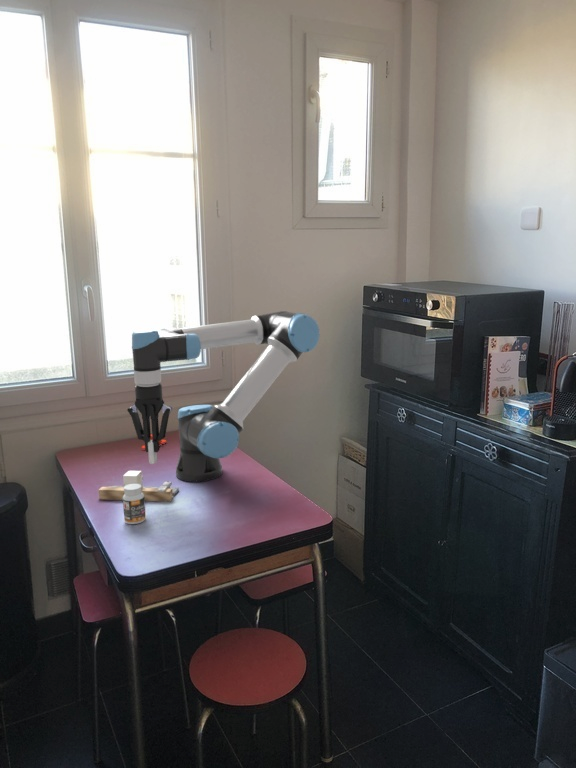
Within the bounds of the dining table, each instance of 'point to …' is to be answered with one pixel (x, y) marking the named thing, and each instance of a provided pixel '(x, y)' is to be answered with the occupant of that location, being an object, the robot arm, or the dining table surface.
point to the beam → (149, 493)
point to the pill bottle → (134, 504)
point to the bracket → (159, 442)
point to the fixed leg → (165, 486)
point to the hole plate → (174, 489)
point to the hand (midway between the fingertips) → (153, 462)
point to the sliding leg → (133, 478)
